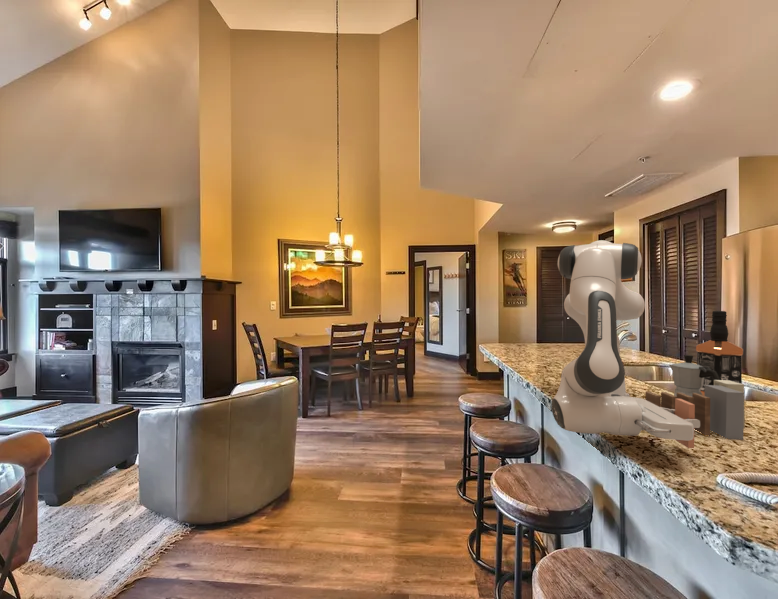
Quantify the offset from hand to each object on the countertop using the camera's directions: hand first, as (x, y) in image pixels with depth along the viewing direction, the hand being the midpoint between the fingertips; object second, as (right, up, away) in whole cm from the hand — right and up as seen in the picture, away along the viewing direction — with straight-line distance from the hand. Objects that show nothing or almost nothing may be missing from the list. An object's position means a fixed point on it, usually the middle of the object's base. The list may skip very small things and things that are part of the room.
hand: (688, 418), depth 88 cm
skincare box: (+28, -8, +20) cm, 35 cm away
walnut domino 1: (+2, -8, +15) cm, 17 cm away
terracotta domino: (-1, -6, 0) cm, 6 cm away
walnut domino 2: (+6, -8, +14) cm, 17 cm away
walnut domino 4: (+14, -8, +13) cm, 21 cm away
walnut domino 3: (+10, -8, +14) cm, 19 cm away
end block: (+19, -8, +12) cm, 24 cm away
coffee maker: (+26, -8, +32) cm, 42 cm away
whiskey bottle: (+42, -8, +41) cm, 59 cm away
